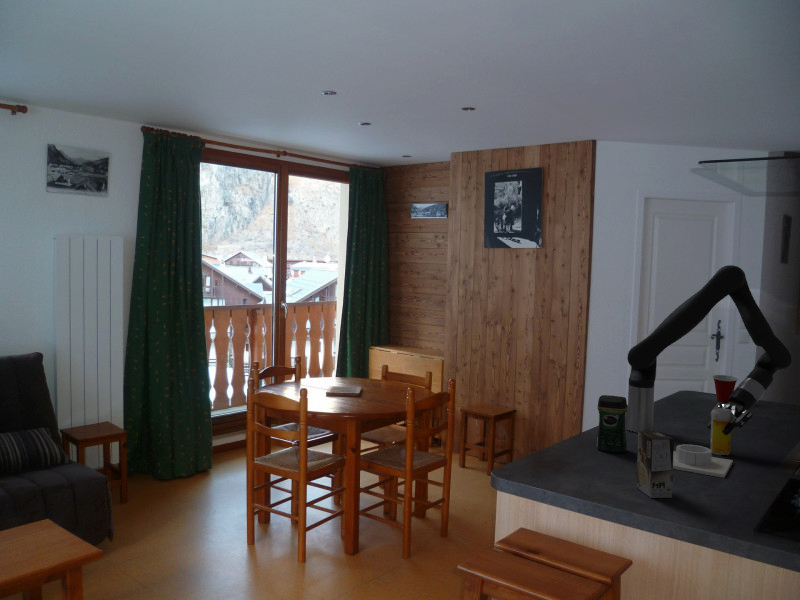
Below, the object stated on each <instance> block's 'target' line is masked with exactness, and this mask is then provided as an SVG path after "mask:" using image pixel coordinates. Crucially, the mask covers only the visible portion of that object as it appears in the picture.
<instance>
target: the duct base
mask: <svg viewBox="0 0 800 600" xmlns="http://www.w3.org/2000/svg"><path fill="white" fill-rule="evenodd" d="M675 447H676V449H675V450H674V452H673V470H678V471H682V472H689V473H695V474H700V475H707V476H712V477H717V478H723V479H724V478H725V477H726V475H727V474H728V472H729V471H730V468H732V465H733V464H732V463H733V459H726V458H720V457H716V456H715V457H714V456H713V453H712V450H710V447H705V446H702V445H698V444H697V445H696V444H677V446H675Z"/></svg>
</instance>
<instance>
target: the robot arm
mask: <svg viewBox="0 0 800 600" xmlns="http://www.w3.org/2000/svg"><path fill="white" fill-rule="evenodd" d="M727 296H729V297H730V298H731V300H732V302H733V303H734V305H735V306H736V309H737V311H738V313H739V316H740V318H741V321H742V323H743V325H744V327H745V330H746V331H747V333H748V334H749V335H748V336H750V337H749V338H751V340H752V342H753V343H754V345H755V346H757V347H760V348H762V349H763V350H764V353H763V354H761V355H760V357H759V358H758V359H757V360H756V363H755V364H754V366H753V369H752V370H751V371H750V373H748V375H747V376H746V377H745V378H744V379H743V380H742V381H741V382H740V383H739V384H738V385H737V387H735V388H734V391H733V393H732V394H731V395H730V396H729V401H728V402H727V403H723V404H722V402H718V401H717V403H716V405H715V406H714V407H713V408H725V409H729V410H731V413H732V415H731V419H730V423H728V424H727V425H726V426H725V427H724V429H723V430H722V432H723V433H724V435H728V434H729V433H730V432H731V433H732V431H733V430H734V429H736V428H740V429H741V428H742V427H744V426H745V425H746V424H747V423H748V421H750V419H752V417H753V413H751V410H752V408H754V407H755V405H756V403H758V401H760V399H761V398H762V397H763V395H764V393H765V392H766V391H767V389H768V388H769V387H770V385H771V384H772V383H773V381H774V375H775V373H776V372H777V371H779V370H783V369H787V368H788V367H790V366H791V364H792V354H791V352H790V351H789V349H788V348H787V346H786V345H785V344H784V343H783V342H782V341H781V339H780V338H778V337H777V336H776V335H775V333H774V331H773V329H772V326H771V325H770V324H769V322H768V320H767V318H766V317H765V315H764V313H763V311H762V309H760V307H759V306H758V303H757V302H756V300H755V298H754V296H753V294H752V291H751V289H750V287H749V284H748V281H747V277H746V273H745V271H744V270H743V269H742V268H740V267H739V266H737V265H732V264H728V265H725V266H722V267H720V268H719V269H718V270H717V271H716V272H715V273H714V275H713V276H712V277H711V278H710V279H709V280H708V281H707V282H706V283H705V284H704V286H703V287H701V289H699V290H698V291H697V292H695V293H694V294H692V295H691V296H690V297H689V298H687V299H686V300H685V301H683V302H682V303H681V304H680V305H678V306H677V307H676V308H675V309H674V310H673V311H672V312H671V313H670V314H669V315H668V316H666V317H665V318H664V320H662V322H661V323H660V324H659V325H658V326H657V327H656V328H655V330H654V331H652V333H651V334H649V335H648V336H647V337H645V338H643V339H642V341H640V342H638V343H637V344H635V345H634V346H633V347H631V348H630V349H629V350H628V353H627V358H626V359H627V363H628V365H629V366H630V367H631V368H630V374H629V378H628V388H627V389H628V391H627V392H628V393H627V394H628V395H627V412H626V414H625V431H629V430H630V432H632V431H633V433H636V434H638V431H654V410H655V409H654V404H655V381H656V379H657V377H656V376H657V363H658V362H657V361H658V360H657V359H658V356H659V355H660V354H661V353H663V351H664V350H666V349H667V348H668V347H670V346H671V345H672V344H674V343H676V342H677V341H679V340H680V339H683V337H685V336H686V335H687V334H689V333H690V332H691V331H692V330H694V329H695V328H696V327H697V326H698V325H699V324H700V323H701V322H702V321H703V320H704V319H705V318H706V317H707V316H708V314H709V313H710V312H711V311H712V309H713V308H714V307H716V305H717V304H719V303H720V302H721V301H722V300H724V299H725V298H726V297H727ZM709 415H710V416H711V412H710V414H709ZM706 427H707V428H708V429H709V431H711V420H710V421H709V422H708V424H707V425H706Z"/></svg>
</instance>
